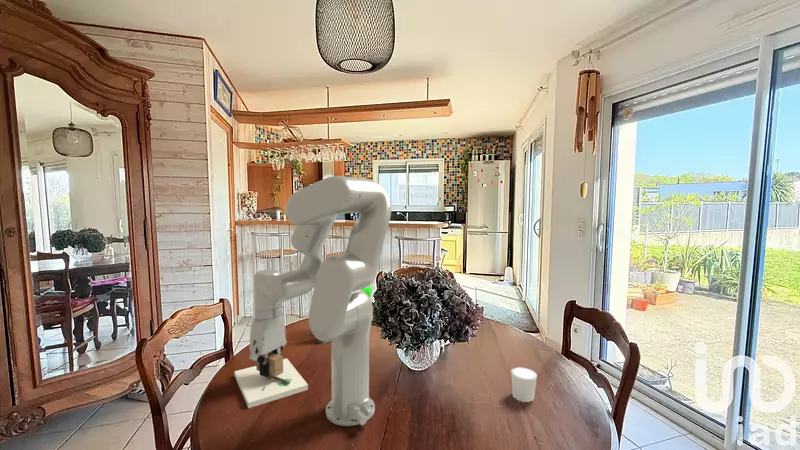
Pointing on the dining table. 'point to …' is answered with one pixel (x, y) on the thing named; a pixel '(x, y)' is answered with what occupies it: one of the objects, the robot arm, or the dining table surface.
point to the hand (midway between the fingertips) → (269, 372)
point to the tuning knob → (274, 366)
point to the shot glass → (523, 384)
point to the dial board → (268, 384)
